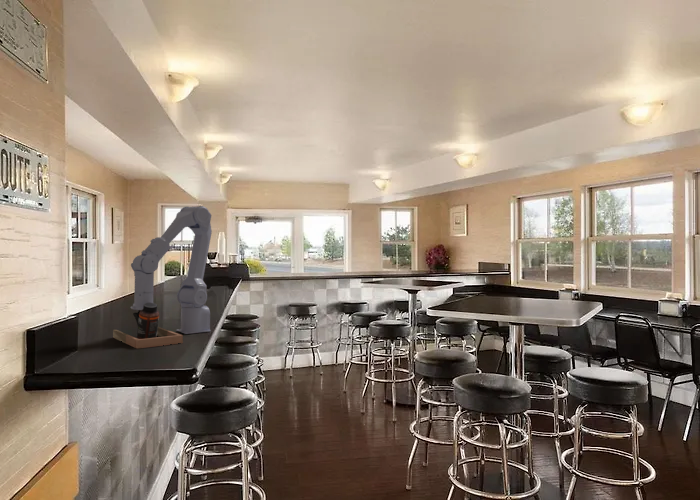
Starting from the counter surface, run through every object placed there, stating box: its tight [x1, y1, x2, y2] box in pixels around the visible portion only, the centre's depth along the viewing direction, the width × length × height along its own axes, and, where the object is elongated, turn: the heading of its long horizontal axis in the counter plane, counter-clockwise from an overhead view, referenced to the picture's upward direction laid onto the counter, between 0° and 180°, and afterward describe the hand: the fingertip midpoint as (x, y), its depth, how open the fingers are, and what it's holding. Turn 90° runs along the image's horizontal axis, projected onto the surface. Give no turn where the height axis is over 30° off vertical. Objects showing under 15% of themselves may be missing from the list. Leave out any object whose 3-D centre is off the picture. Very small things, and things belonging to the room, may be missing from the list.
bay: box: [112, 326, 184, 350], centre depth 164 cm, size 14×22×2 cm, turn 42°
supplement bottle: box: [136, 302, 160, 339], centre depth 162 cm, size 6×6×11 cm
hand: (143, 334), depth 166 cm, fingers closed, pressing on supplement bottle
